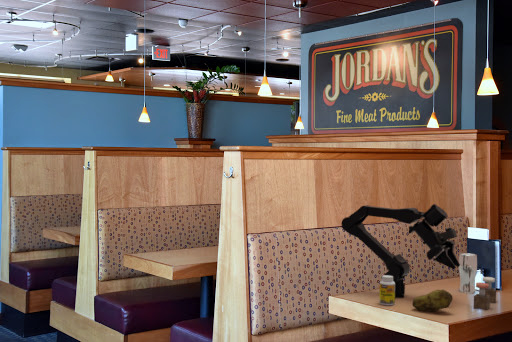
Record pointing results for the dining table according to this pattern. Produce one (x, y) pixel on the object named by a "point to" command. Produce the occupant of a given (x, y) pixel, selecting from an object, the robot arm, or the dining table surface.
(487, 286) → the red rounded knob
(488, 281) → the ivory key
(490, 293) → the ivory key housing
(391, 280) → the supplement bottle
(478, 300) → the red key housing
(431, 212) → the robot arm
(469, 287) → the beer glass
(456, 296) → the dining table surface
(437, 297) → the potato
